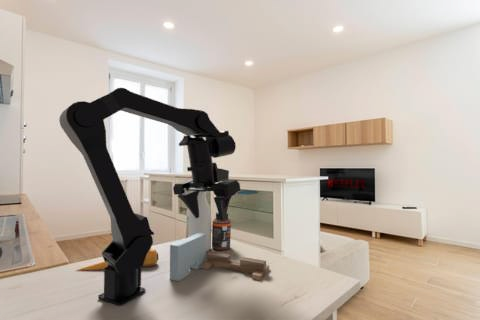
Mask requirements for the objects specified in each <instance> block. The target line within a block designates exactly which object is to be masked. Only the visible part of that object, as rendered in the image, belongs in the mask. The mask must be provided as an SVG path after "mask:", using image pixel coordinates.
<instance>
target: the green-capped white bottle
mask: <svg viewBox="0 0 480 320" xmlns="http://www.w3.org/2000/svg"><path fill="white" fill-rule="evenodd" d="M201 188H203V187H201ZM197 199H198V207H199V217H198V218H195V217H194V215H193V214H192V213H191V211H190V210H189V208H188V207H187V210H186V226H185V227H186V232H185V233H186V234H185V237H186V238H188V237H190V236H192V235H195V234H197V233H204V234H206V252H210V250H211V248H212V210H211V207H210V204H209V201H208V200H207V191H199V194H198V197H197Z"/></svg>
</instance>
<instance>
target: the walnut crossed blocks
mask: <svg viewBox="0 0 480 320" xmlns="http://www.w3.org/2000/svg"><path fill="white" fill-rule="evenodd" d="M213 267H215V268H220V269H224V270H231V271H234V272H235V271H236V272H239V273H246V274H251V279H252V280H256V281H261V280H262V278H264V277H265V275H266V274H267V273H268V271H270V265H269V264H267V260H263V259H257V258H251V257H245V256H243V257H241V258H240V259H239V261H235V260H232V255H231V254H227V253H222V252H215V251H208V253H207V252H206V262H205V263H203V264H202V266H201V269H202V270H207V271H208V270H210V269H212V268H213Z"/></svg>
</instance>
